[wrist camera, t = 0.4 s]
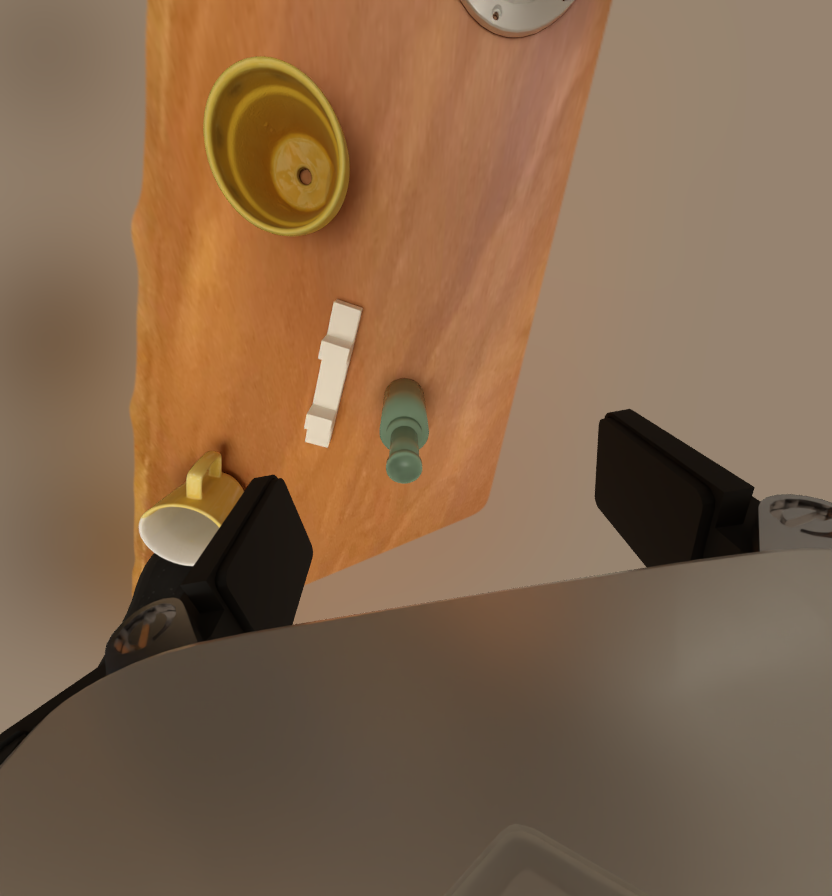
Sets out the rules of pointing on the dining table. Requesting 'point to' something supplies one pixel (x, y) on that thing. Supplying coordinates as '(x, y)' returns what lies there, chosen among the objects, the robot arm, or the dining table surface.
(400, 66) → the dining table surface
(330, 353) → the u rest
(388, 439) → the green bottle
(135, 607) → the bottle
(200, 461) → the mug
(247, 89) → the plant pot
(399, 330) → the dining table surface
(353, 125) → the dining table surface
